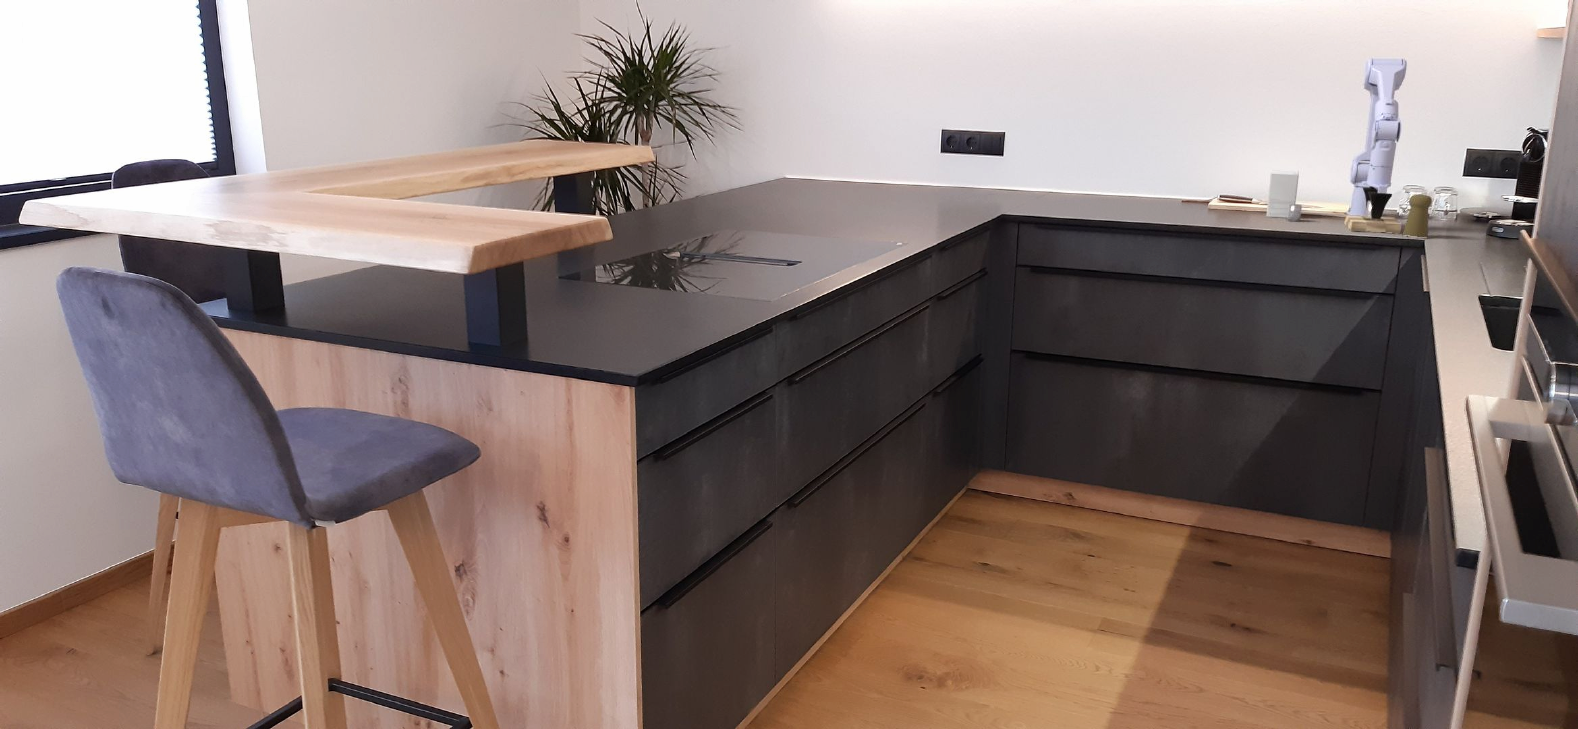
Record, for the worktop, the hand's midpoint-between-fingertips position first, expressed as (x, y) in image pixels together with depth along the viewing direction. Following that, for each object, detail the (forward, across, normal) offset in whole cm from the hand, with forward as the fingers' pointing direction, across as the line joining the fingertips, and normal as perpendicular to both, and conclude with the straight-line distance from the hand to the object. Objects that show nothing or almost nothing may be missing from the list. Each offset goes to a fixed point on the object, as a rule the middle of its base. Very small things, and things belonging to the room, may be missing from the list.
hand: (1373, 216), depth 318 cm
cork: (+4, +9, +9) cm, 13 cm away
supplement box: (+4, -15, -22) cm, 27 cm away
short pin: (+3, -7, -19) cm, 21 cm away
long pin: (+3, 0, 0) cm, 3 cm away
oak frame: (+3, 0, 0) cm, 3 cm away
